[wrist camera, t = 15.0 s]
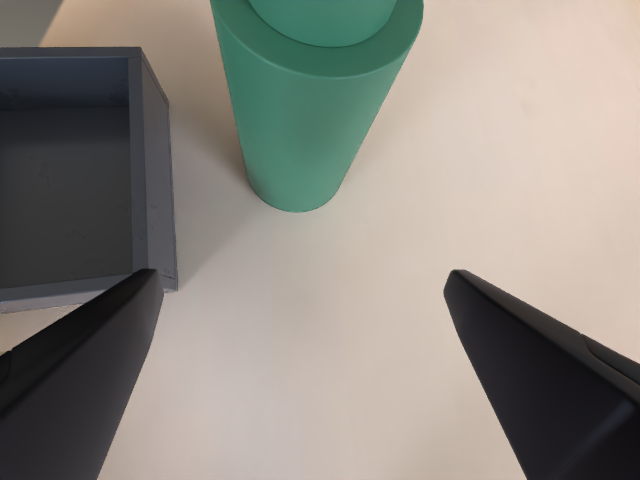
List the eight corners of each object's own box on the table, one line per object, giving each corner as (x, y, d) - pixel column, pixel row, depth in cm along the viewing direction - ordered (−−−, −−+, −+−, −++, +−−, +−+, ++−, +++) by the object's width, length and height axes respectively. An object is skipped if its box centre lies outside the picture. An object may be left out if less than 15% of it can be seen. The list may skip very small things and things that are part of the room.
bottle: (324, 227, 18) (494, -62, 4) (229, 190, 18) (56, -261, 4) (355, 144, 20) (556, -276, 6) (268, 108, 20) (248, -431, 5)
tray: (178, 290, 16) (148, 284, 13) (-82, 325, 15) (-211, 330, 11) (168, 100, 19) (140, 46, 15) (-57, 107, 17) (-156, 47, 13)
